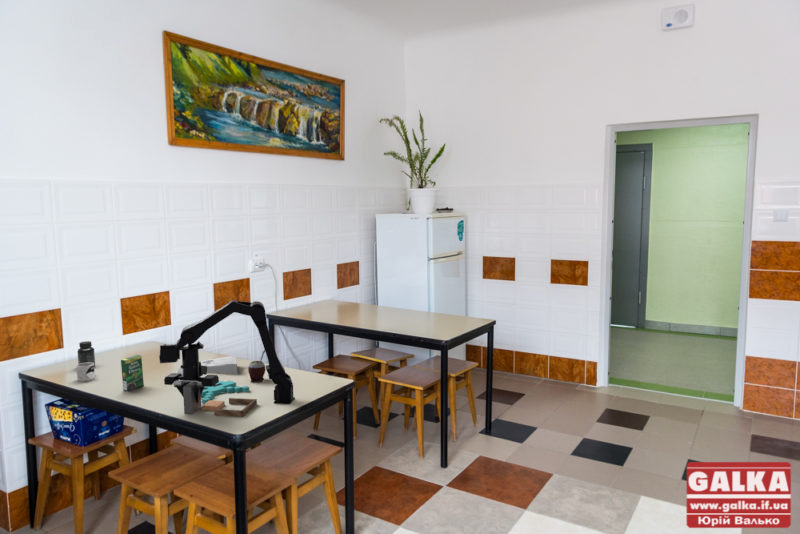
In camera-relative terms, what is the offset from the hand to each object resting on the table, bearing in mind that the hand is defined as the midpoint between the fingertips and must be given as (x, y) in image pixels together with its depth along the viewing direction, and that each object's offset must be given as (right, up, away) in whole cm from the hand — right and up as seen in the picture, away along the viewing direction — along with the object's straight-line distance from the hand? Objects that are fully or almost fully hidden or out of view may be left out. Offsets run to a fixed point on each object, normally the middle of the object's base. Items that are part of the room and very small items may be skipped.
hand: (192, 402), depth 216 cm
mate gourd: (+16, +1, +35) cm, 38 cm away
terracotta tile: (+7, -3, +3) cm, 8 cm away
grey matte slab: (0, -3, 0) cm, 3 cm away
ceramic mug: (-14, +1, +33) cm, 36 cm away
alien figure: (+1, -1, +20) cm, 20 cm away
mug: (-60, +1, +40) cm, 72 cm away
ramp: (-7, +2, +52) cm, 52 cm away
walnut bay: (+15, -3, +1) cm, 16 cm away
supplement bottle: (-68, +3, +55) cm, 88 cm away
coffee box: (-33, 0, +26) cm, 42 cm away
